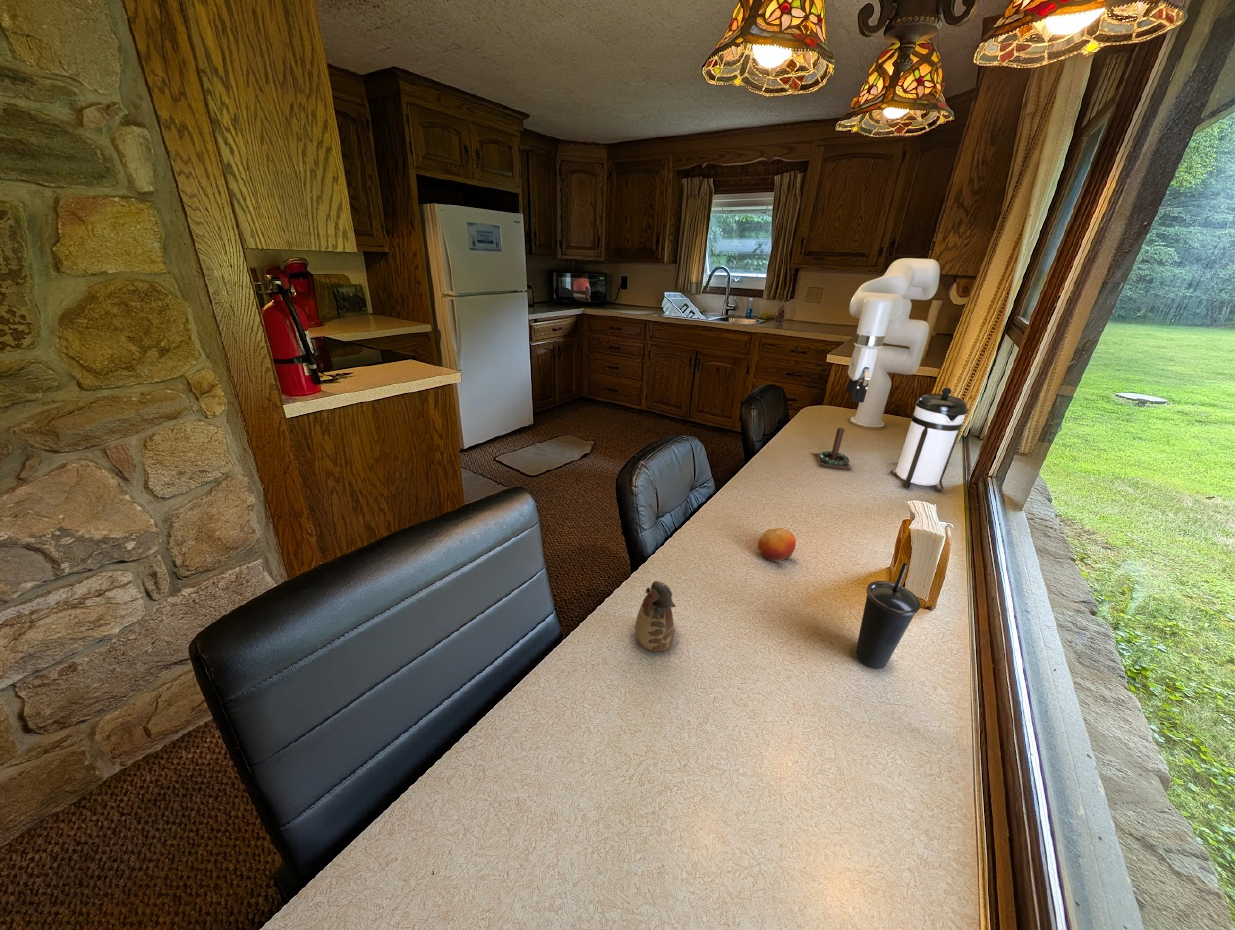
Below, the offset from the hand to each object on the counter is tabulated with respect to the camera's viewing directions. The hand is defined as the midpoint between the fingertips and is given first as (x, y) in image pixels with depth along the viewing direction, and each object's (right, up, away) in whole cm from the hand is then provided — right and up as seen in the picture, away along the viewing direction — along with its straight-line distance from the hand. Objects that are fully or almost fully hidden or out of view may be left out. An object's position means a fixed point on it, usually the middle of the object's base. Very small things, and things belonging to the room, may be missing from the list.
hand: (854, 397), depth 142 cm
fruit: (-37, -42, -36) cm, 67 cm away
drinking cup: (-29, -55, -62) cm, 88 cm away
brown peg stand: (-1, -20, +12) cm, 23 cm away
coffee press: (+19, -26, +2) cm, 32 cm away
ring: (-2, -19, +10) cm, 21 cm away
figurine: (-67, -52, -59) cm, 103 cm away
